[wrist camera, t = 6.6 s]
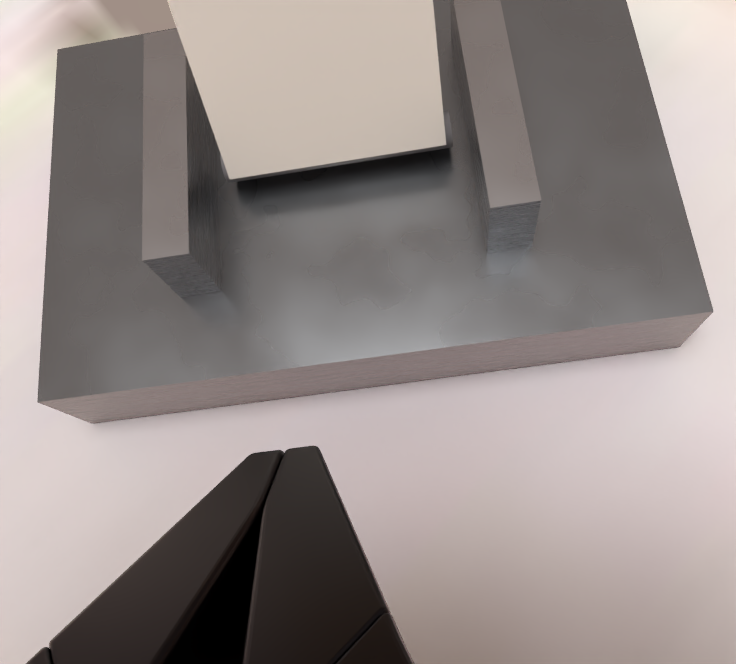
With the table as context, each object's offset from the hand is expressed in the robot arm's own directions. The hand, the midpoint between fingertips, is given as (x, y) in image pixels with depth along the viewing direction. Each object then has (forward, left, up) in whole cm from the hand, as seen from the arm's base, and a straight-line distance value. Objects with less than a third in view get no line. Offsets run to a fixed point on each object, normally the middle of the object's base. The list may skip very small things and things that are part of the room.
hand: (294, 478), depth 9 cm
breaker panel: (+9, +5, -12) cm, 16 cm away
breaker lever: (+9, +5, -8) cm, 13 cm away
